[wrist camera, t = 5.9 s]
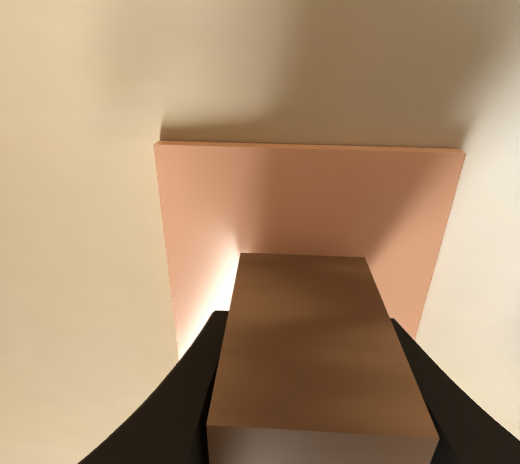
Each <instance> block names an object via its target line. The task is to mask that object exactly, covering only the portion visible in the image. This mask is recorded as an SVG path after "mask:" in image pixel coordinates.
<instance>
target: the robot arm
mask: <svg viewBox="0 0 520 464" xmlns="http://www.w3.org/2000/svg"><path fill="white" fill-rule="evenodd" d="M228 313H229V311H223V310H215V311H214V312H212V313H211V315H210V317H209V319H208V320H207V322H206V324H205V325H204V327H203V328H202V330H201V331H200V333H199V334H198V336H197V337H196V339H195V340H194V342H193V343H192V344H191V346H190V347H189V348H188V350H187V351H186V352H185V354H184V355H183V356H182V358H181V359H180V360H179V362H178V363H177V364H176V366H175V367H174V368H173V369H172V370H171V372H170V373H169V374H168V375H167V376H166V378H165V379H164V380H163V381H162V382H161V384H160V385H159V386H158V387H157V388H156V389H155V391H154V392H153V393H152V394H151V395H150V396H149V397H148V398H147V399H146V400H145V401H144V402H143V404H142V405H141V406H140V407H139V408H138V409H137V410H136V411H135V412H134V413H133V414H132V415H131V416H130V417H129V418H128V419H127V420H126V421H125V422H124V423H123V424H122V425H120V426H119V427H118V428H117V429H116V430H115V431H114V432H113V433H112V434H111V435H110V436H109V437H108V438H107V439H106V440H105V441H103V442H102V443H101V444H100V445H99V446H98V447H97V448H96V449H94V450H93V451H92V452H91V453H90V454H89V455H87V456H86V457H85V458H84V459H83V460H81V461H80V462H79V463H78V464H209V452H208V440H207V428H206V424H207V419H208V414H209V409H210V404H211V399H212V394H213V389H214V384H215V378H216V373H217V368H218V363H219V358H220V353H221V348H222V343H223V338H224V333H225V328H226V323H227V318H228ZM390 320H391V322H392V324H393V327H394V329H395V332H396V334H397V337H398V339H399V341H400V344H401V346H402V349H403V351H404V354H405V356H406V358H407V361H408V363H409V366H410V368H411V370H412V373H413V375H414V378H415V380H416V383H417V385H418V387H419V390H420V392H421V395H422V397H423V400H424V402H425V404H426V407H427V409H428V412H429V414H430V417H431V419H432V421H433V424H434V426H435V429H436V431H437V433H438V436H439V438H440V439H439V441H438V444H437V446H436V449H435V451H434V454H433V457H432V459H431V462H430V464H520V441H519V440H518V439H517V438H516V437H514V436H513V435H512V434H511V433H510V432H508V431H507V430H506V429H505V428H504V427H502V426H501V425H500V424H499V423H498V422H496V421H495V420H494V419H493V418H492V417H491V416H490V415H488V414H487V413H486V412H485V411H484V410H483V409H482V408H481V407H480V406H478V405H477V404H476V403H475V402H474V401H473V400H472V399H471V398H470V397H469V396H468V395H467V394H466V393H465V392H464V391H463V390H461V389H460V388H459V387H458V386H457V385H456V384H455V383H454V382H453V381H452V380H451V379H450V378H449V377H448V376H447V375H446V374H445V373H444V372H443V371H442V370H441V369H440V368H439V366H438V365H437V364H436V363H435V362H434V361H433V360H432V359H431V358H430V357H429V356H428V355H427V354H426V353H425V352H424V351H423V349H422V348H421V347H420V346H419V345H418V344H417V343H416V342H415V341H414V340H413V339H412V337H411V336H410V335H409V334H408V333H407V332H406V331H405V330H404V329H403V327H402V326H401V325H400V324H399V323H398V322H397V321H396V320H395V319H394V318H390Z"/></svg>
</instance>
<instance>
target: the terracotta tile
mask: <svg viewBox="0 0 520 464" xmlns="http://www.w3.org/2000/svg"><path fill="white" fill-rule="evenodd" d="M154 152H155V160H156V169H157V177H158V186H159V194H160V203H161V211H162V219H163V228H164V236H165V245H166V253H167V262H168V270H169V279H170V287H171V295H172V304H173V312H174V321H175V329H176V338H177V346H178V354H179V360H180V359H181V358H182V356H183V355H184V354H185V352H186V351H187V350H188V348H189V347H190V346H191V344H192V343H193V342H194V340H195V339H196V337H197V336H198V334H199V333H200V331H201V330H202V328H203V327H204V325H205V324H206V322H207V320H208V319H209V317H210V315H211V313H212V312H214V311H215V310H223V311H229V308H230V303H231V298H232V293H233V288H234V283H235V278H236V273H237V268H238V263H239V258H240V253H266V254H292V255H318V256H344V257H365V259H366V261H367V264H368V266H369V269H370V271H371V274H372V276H373V278H374V281H375V283H376V286H377V288H378V291H379V293H380V295H381V298H382V300H383V303H384V305H385V308H386V310H387V312H388V315H389V317H390V318H394V319H395V320H396V321H397V322H398V323H399V324H400V325H401V326H402V327H403V329H404V330H405V331H406V332H407V333H408V334H409V335H410V336H411V337H412V339H413V340H414V341H415V337H416V333H417V330H418V326H419V322H420V319H421V315H422V312H423V308H424V304H425V301H426V297H427V293H428V290H429V286H430V283H431V279H432V275H433V272H434V268H435V265H436V261H437V257H438V254H439V250H440V246H441V243H442V239H443V236H444V232H445V228H446V225H447V221H448V217H449V214H450V210H451V207H452V203H453V199H454V196H455V192H456V188H457V185H458V181H459V178H460V174H461V170H462V167H463V163H464V160H465V156H466V153H465V152H463V151H461V150H460V149H454V148H417V147H380V146H342V145H305V144H267V143H230V142H192V141H158V142H157V143H155V144H154Z"/></svg>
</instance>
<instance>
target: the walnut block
mask: <svg viewBox="0 0 520 464" xmlns="http://www.w3.org/2000/svg"><path fill="white" fill-rule="evenodd" d="M206 428H207V440H208V452H209V464H430V462H431V459H432V457H433V454H434V451H435V449H436V446H437V444H438V441H439V439H440V438H439V436H438V433H437V431H436V429H435V426H434V424H433V421H432V419H431V417H430V414H429V412H428V409H427V407H426V404H425V402H424V400H423V397H422V395H421V392H420V390H419V387H418V385H417V383H416V380H415V378H414V375H413V373H412V370H411V368H410V366H409V363H408V361H407V358H406V356H405V354H404V351H403V349H402V346H401V344H400V341H399V339H398V337H397V334H396V332H395V329H394V327H393V324H392V322H391V320H390V317H389V315H388V312H387V310H386V308H385V305H384V303H383V300H382V298H381V295H380V293H379V291H378V288H377V286H376V283H375V281H374V278H373V276H372V274H371V271H370V269H369V266H368V264H367V261H366V259H365V257H344V256H318V255H292V254H266V253H240V258H239V263H238V268H237V273H236V278H235V283H234V288H233V293H232V298H231V303H230V308H229V313H228V318H227V323H226V328H225V333H224V338H223V343H222V348H221V353H220V358H219V363H218V368H217V373H216V378H215V384H214V389H213V394H212V399H211V404H210V409H209V414H208V419H207V424H206Z"/></svg>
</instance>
